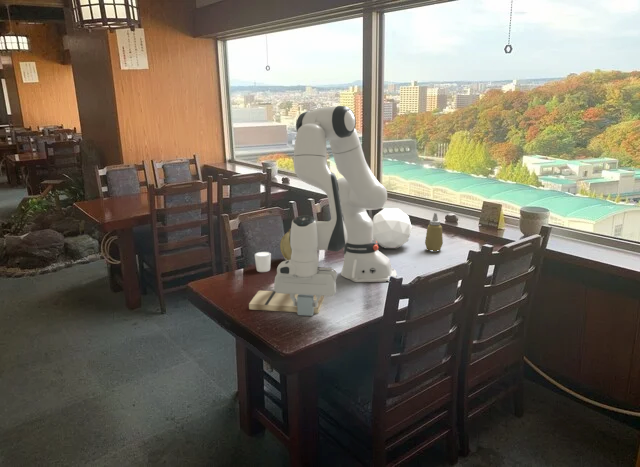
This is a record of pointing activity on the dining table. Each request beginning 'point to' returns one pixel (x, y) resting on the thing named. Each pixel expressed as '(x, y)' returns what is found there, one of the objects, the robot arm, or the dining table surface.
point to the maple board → (277, 302)
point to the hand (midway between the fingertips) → (305, 306)
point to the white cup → (263, 261)
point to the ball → (391, 228)
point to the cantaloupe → (286, 246)
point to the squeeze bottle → (434, 234)
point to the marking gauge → (305, 304)
